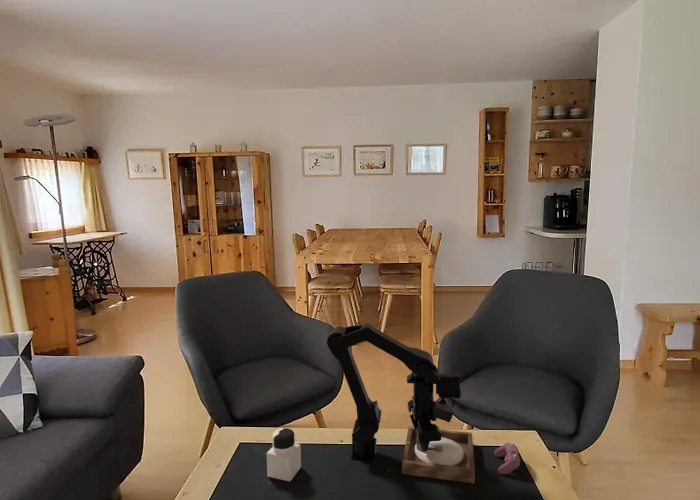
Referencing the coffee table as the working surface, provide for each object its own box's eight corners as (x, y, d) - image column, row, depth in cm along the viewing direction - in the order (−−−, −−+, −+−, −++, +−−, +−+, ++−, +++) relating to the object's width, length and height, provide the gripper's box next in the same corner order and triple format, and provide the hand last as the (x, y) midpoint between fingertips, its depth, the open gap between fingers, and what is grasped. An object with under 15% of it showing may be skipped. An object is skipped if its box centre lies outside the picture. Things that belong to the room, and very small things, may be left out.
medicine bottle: (301, 466, 129) (300, 427, 127) (290, 482, 122) (289, 441, 121) (279, 462, 131) (277, 423, 130) (267, 477, 125) (265, 436, 123)
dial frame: (402, 473, 125) (402, 461, 125) (408, 436, 144) (408, 425, 143) (474, 483, 121) (474, 470, 120) (471, 443, 140) (472, 432, 139)
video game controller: (512, 482, 124) (525, 462, 122) (496, 473, 124) (509, 453, 123) (506, 460, 133) (518, 441, 132) (492, 452, 134) (504, 434, 132)
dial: (462, 443, 138) (463, 420, 137) (464, 471, 124) (465, 446, 123) (416, 438, 140) (416, 416, 139) (413, 465, 127) (413, 441, 126)
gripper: (460, 411, 121) (459, 464, 123) (442, 380, 139) (442, 427, 142) (419, 413, 121) (419, 466, 123) (407, 382, 139) (407, 429, 141)
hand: (423, 446), depth 132 cm, fingers open, 4 cm apart
